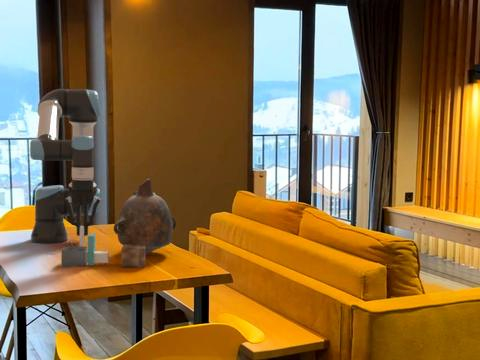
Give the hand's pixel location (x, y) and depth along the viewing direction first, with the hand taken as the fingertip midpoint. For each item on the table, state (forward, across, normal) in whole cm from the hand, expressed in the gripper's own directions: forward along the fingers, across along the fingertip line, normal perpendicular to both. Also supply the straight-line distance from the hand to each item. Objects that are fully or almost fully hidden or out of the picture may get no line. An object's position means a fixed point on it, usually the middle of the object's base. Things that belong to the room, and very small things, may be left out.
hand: (82, 244), depth 229 cm
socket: (+8, +18, 0) cm, 20 cm away
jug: (+8, +21, +19) cm, 30 cm away
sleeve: (+8, -3, 0) cm, 8 cm away
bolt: (+7, +1, 0) cm, 7 cm away
